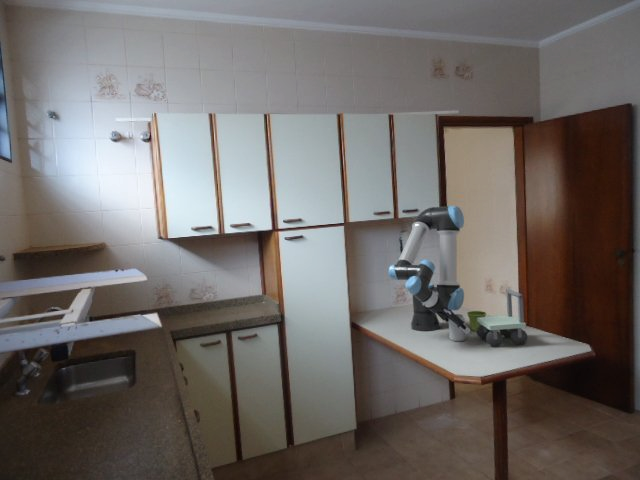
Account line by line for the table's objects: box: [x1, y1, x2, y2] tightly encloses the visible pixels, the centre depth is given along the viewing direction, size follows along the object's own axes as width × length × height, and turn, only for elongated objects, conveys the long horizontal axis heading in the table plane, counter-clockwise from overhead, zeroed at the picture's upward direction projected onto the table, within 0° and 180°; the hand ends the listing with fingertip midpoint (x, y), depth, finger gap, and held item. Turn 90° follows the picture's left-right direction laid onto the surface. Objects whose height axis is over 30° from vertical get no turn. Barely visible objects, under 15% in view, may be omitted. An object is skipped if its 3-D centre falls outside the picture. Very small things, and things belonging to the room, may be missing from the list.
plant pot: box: [466, 310, 487, 332], centre depth 235 cm, size 9×9×9 cm
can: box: [448, 313, 467, 342], centre depth 220 cm, size 8×8×12 cm
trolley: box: [476, 288, 528, 348], centre depth 212 cm, size 16×18×23 cm
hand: (463, 330), depth 221 cm, fingers closed on can, 7 cm apart
